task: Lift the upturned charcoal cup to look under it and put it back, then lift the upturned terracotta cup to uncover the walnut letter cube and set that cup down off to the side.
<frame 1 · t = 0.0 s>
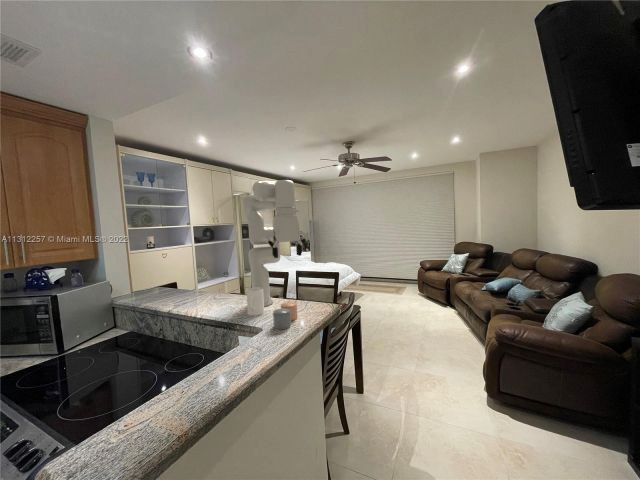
hand: (287, 256, 99), 31 cm above the counter, tool pointing down, fingers open, 9 cm apart
letter cube: (289, 318, 118), on the counter
cup terracotta: (289, 317, 118), on the counter
cup charcoal: (282, 325, 109), on the counter
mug: (255, 314, 126), on the counter
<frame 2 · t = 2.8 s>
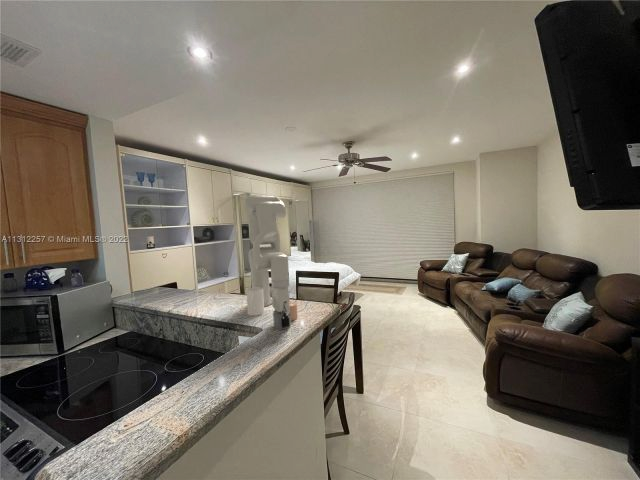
hand: (282, 323, 109), 1 cm above the counter, tool pointing down, fingers closed on cup charcoal, 7 cm apart
cup charcoal: (282, 326, 109), on the counter, touching gripper
everything else where it was.
when the fingers open (2 cm above the counter, at t = 8.5 s): cup charcoal stays where it is, on the counter.
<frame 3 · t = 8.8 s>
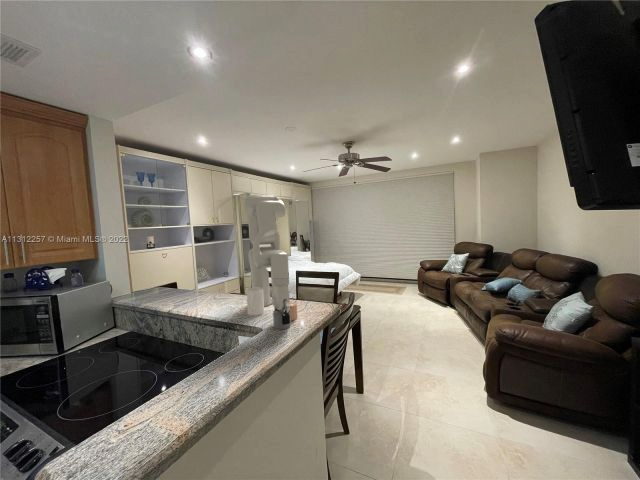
hand: (282, 320, 109), 3 cm above the counter, tool pointing down, fingers open, 9 cm apart
cup charcoal: (282, 325, 109), on the counter
everything else where it was.
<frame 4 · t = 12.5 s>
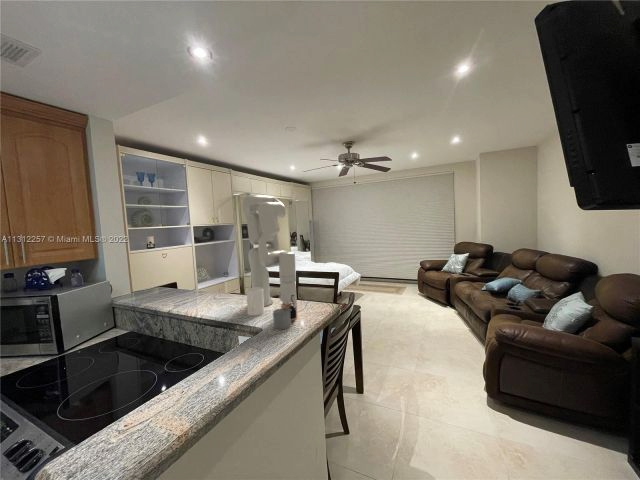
hand: (289, 315, 118), 1 cm above the counter, tool pointing down, fingers closed on cup terracotta, 7 cm apart
cup terracotta: (289, 318, 118), on the counter, touching gripper
everything else where it was.
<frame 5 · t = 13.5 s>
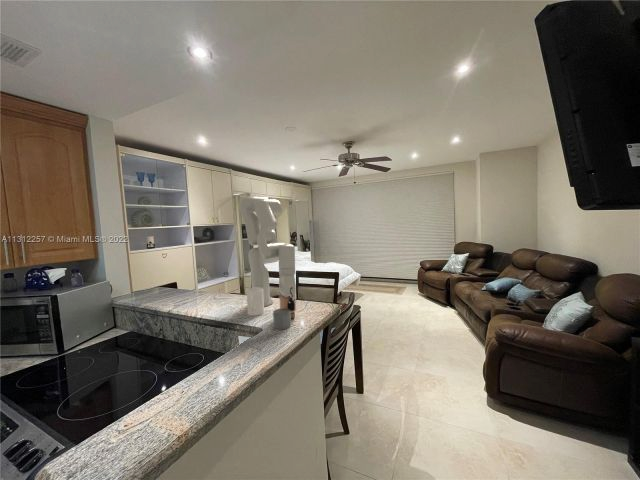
hand: (288, 307, 119), 5 cm above the counter, tool pointing down, fingers closed on cup terracotta, 7 cm apart
letter cube: (289, 317, 118), on the counter, tilted 6°
cup terracotta: (288, 310, 119), point 3 cm above the counter, touching gripper
everything else where it was.
when the fingers open (2 cm above the counter, at t = 19.2 s): cup terracotta drops 1 cm, on the counter.
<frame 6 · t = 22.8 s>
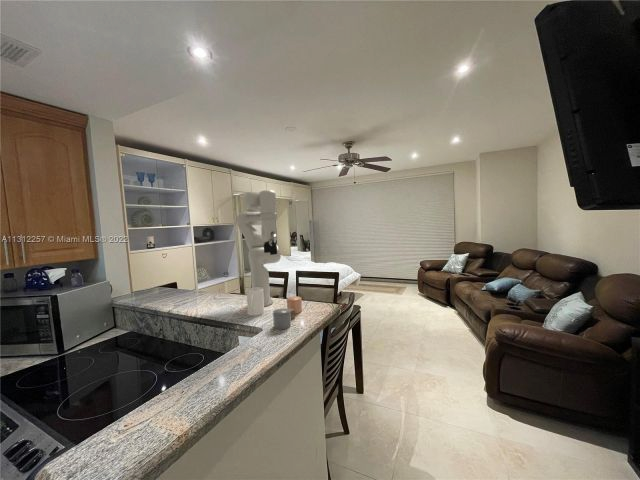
hand: (270, 253, 120), 30 cm above the counter, tool pointing down, fingers open, 9 cm apart
letter cube: (289, 318, 118), on the counter
cup terracotta: (294, 311, 127), on the counter
everything else where it was.
at the end: cup terracotta 0.2 cm from the target spot, on the counter; cup terracotta tilted 0°; cup charcoal moved 0.1 cm from its start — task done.
